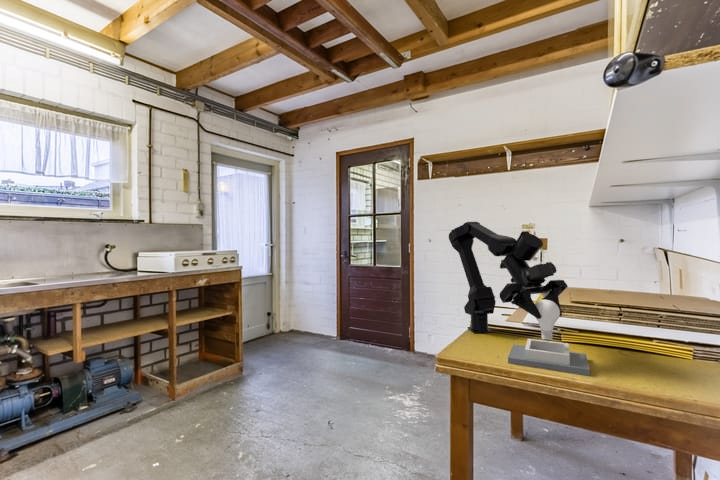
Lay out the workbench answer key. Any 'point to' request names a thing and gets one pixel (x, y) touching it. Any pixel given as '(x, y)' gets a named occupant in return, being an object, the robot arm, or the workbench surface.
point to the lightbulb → (547, 317)
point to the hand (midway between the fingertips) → (550, 317)
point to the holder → (549, 357)
